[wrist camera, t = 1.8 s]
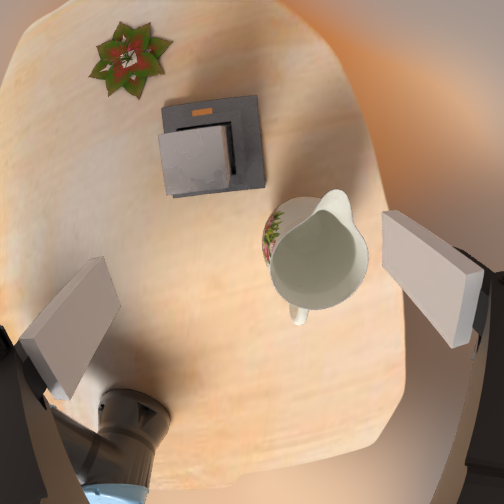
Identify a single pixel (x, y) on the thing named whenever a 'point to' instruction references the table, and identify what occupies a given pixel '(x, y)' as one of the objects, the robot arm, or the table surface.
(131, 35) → the lily flower
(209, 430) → the table surface
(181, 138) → the column
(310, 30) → the table surface
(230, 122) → the stand
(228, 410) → the table surface
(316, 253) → the pitcher
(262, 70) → the table surface
